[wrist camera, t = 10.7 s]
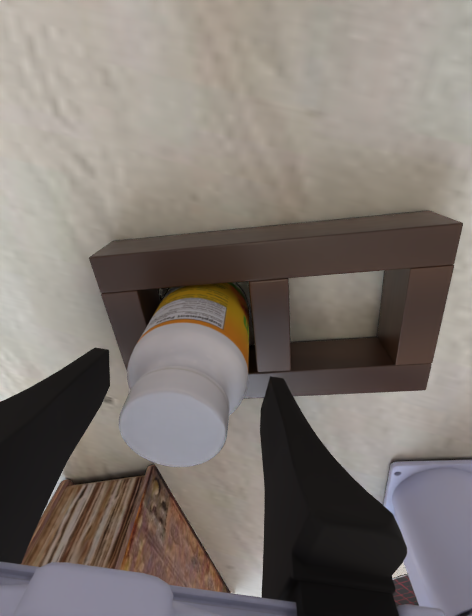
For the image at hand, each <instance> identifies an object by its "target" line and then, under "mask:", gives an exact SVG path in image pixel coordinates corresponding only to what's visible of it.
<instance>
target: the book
mask: <svg viewBox="0 0 472 616" xmlns="http://www.w3.org/2000/svg"><path fill="white" fill-rule="evenodd" d="M51 562H67V563H74V564H81V565H88V566H96V567H103V568H110V569H117V570H124V571H132V572H139V573H144V574H148V575H152V576H155V577H158V578H160V579H161V580H163V581H164V582H166V583H168V585H173V586H181V587H188V588H195V589H202V590H210V591H217V592H224V593H230V592H229V590H228V589H227V587H226V585H225V584H224V582H223V580H222V578H221V577H220V575H219V573H218V572H217V570H216V568H215V566H214V565H213V563H212V561H211V560H210V558H209V556H208V555H207V553H206V551H205V549H204V548H203V546H202V544H201V543H200V541H199V539H198V537H197V536H196V534H195V532H194V531H193V529H192V527H191V526H190V524H189V522H188V520H187V519H186V517H185V515H184V514H183V512H182V510H181V509H180V507H179V505H178V503H177V502H176V500H175V498H174V497H173V495H172V493H171V491H170V490H169V488H168V486H167V485H166V483H165V481H164V480H163V478H162V476H161V474H160V473H159V471H158V469H157V468H156V466H155V465H150V466H148V467H147V470H146V473H145V475H143V476H136V477H128V478H121V479H114V480H107V481H100V482H93V483H85V484H78V485H74V484H73V483H72V481H71V480H69V479H67V480H63V481H62V482H61V483H60V485H59V487H58V488H57V490H56V492H55V494H54V495H53V497H52V499H51V501H50V502H49V504H48V506H47V508H46V509H45V511H44V513H43V515H42V517H41V518H40V520H39V523H38V525H37V527H36V529H35V532H34V534H33V536H32V539H31V541H30V543H29V546H28V548H27V551H26V553H25V556H24V558H23V560H22V563H21V565H28V566H36V567H41V566H44V565H46V564H49V563H51Z"/></svg>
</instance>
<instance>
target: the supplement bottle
mask: <svg viewBox="0 0 472 616" xmlns="http://www.w3.org/2000/svg"><path fill="white" fill-rule="evenodd" d="M248 358H249V305H248V301H247V298H246V296H245V294H244V292H243V291H242V290H241V288H240V287H239V286H238V285H237V284H236V283H235V282H232V283H219V284H207V285H194V286H182V287H170V288H169V290H168V291H167V293H166V294H165V296H164V298H163V299H162V301H161V303H160V305H159V306H158V308H157V310H156V312H155V313H154V315H153V317H152V319H151V320H150V322H149V324H148V325H147V327H146V329H145V331H144V332H143V334H142V336H141V337H140V339H139V341H138V342H137V344H136V346H135V348H134V350H133V352H132V354H131V356H130V360H129V363H128V368H127V379H128V384H129V388H130V392H129V394H128V397H127V399H126V401H125V404H124V406H123V408H122V410H121V413H120V417H119V429H120V433H121V435H122V437H123V439H124V441H125V442H126V444H127V445H128V446H129V447H130V448H131V449H132V450H133V451H134V452H136V453H137V454H138V455H140V456H141V457H143V458H145V459H147V460H149V461H151V462H154V463H157V464H161V465H165V466H171V467H188V466H194V465H198V464H201V463H204V462H206V461H208V460H210V459H211V458H213V457H214V456H216V455H217V454H218V453H219V451H220V450H221V449H222V447H223V445H224V443H225V441H226V437H227V430H228V420H229V415H230V414H232V413H233V412H234V411H235V410H236V409H237V407H238V406H239V405H240V403H241V401H242V400H243V398H244V395H245V393H246V389H247V383H248Z"/></svg>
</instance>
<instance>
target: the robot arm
mask: <svg viewBox="0 0 472 616" xmlns="http://www.w3.org/2000/svg"><path fill="white" fill-rule="evenodd" d="M109 386H110V372H109V350H106V349H100V348H94V349H92V350H90V351H89V352H87V353H86V354H84V355H83V356H81V357H80V358H78V359H77V360H75V361H74V362H72V363H71V364H69V365H67V366H66V367H64V368H63V369H61V370H59V371H58V372H56V373H55V374H53V375H51V376H49V377H48V378H46V379H44V380H43V381H41V382H39V383H37V384H36V385H34V386H32V387H30V388H28V389H26V390H24V391H22V392H20V393H18V394H16V395H14V396H12V397H10V398H8V399H6V400H4V401H1V402H0V616H472V460H437V461H399V462H393V463H392V464H391V466H390V470H389V476H388V481H387V487H386V492H385V498H384V503H383V505H382V504H381V503H380V502H379V501H377V500H376V499H375V498H374V497H373V496H371V495H370V494H369V493H368V492H367V491H366V490H365V489H364V488H363V487H362V486H361V485H360V484H359V483H357V482H356V481H355V480H354V479H353V478H352V477H351V476H350V475H349V474H348V472H347V471H346V470H345V469H344V468H343V467H342V466H341V465H340V464H339V463H338V462H337V461H336V459H335V458H334V457H333V456H332V455H331V454H330V452H329V451H328V450H327V449H326V447H325V446H324V445H323V443H322V442H321V441H320V439H319V438H318V437H317V435H316V434H315V432H314V431H313V429H312V428H311V426H310V425H309V423H308V422H307V420H306V418H305V417H304V415H303V413H302V412H301V410H300V408H299V406H298V405H297V403H296V401H295V399H294V397H293V395H292V393H291V391H290V389H289V387H288V385H287V383H286V381H285V380H284V378H278V377H272V376H270V379H269V382H268V386H267V389H266V393H265V396H264V400H263V404H262V407H261V419H260V435H261V448H262V460H263V471H264V486H265V514H264V554H263V580H262V598H260V597H253V596H246V595H238V594H231V593H224V592H217V591H210V590H202V589H195V588H188V587H181V586H173V585H168V583H166V582H164V581H163V580H161V579H160V578H158V577H155V576H152V575H148V574H144V573H139V572H132V571H124V570H117V569H110V568H103V567H96V566H88V565H81V564H74V563H67V562H51V563H49V564H46V565H44V566H41V567H36V566H28V565H21V563H22V560H23V558H24V556H25V553H26V551H27V548H28V546H29V543H30V541H31V539H32V536H33V534H34V532H35V529H36V527H37V525H38V523H39V520H40V518H41V516H42V514H43V511H44V509H45V507H46V505H47V503H48V500H49V498H50V496H51V494H52V492H53V490H54V487H55V485H56V483H57V481H58V479H59V477H60V475H61V473H62V471H63V469H64V467H65V465H66V463H67V461H68V459H69V457H70V456H71V454H72V452H73V450H74V449H75V447H76V445H77V444H78V442H79V441H80V439H81V437H82V436H83V434H84V433H85V431H86V429H87V428H88V426H89V424H90V423H91V421H92V420H93V418H94V416H95V415H96V413H97V411H98V410H99V408H100V406H101V404H102V402H103V400H104V398H105V396H106V393H107V391H108V389H109ZM403 562H404V565H405V568H406V570H407V573H408V576H409V579H410V582H411V584H412V587H413V590H414V593H415V595H416V598H417V601H418V604H419V606H417V605H408V604H404V605H399V606H397V607H396V604H395V601H394V597H393V594H394V593H395V585H394V582H393V579H392V575H393V573H394V572H395V571H396V570H397V569H398V567H399V566H400V565H401V564H402V563H403ZM392 593H393V594H392Z"/></svg>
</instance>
